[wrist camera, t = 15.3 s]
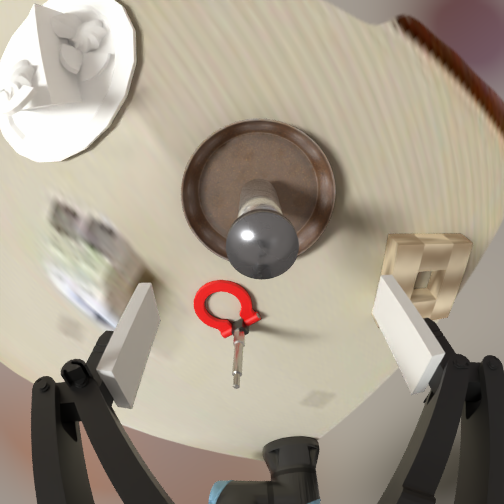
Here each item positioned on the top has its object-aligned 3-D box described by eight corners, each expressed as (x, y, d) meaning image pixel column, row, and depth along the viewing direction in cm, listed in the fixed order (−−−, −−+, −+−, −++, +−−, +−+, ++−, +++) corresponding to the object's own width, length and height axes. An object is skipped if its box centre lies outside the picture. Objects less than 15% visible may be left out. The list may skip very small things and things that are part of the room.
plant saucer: (176, 127, 32) (170, 128, 29) (327, 115, 31) (335, 116, 28) (197, 259, 40) (193, 271, 37) (328, 249, 39) (333, 260, 37)
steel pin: (281, 217, 34) (297, 278, 22) (235, 218, 34) (228, 279, 22) (282, 173, 31) (300, 213, 20) (234, 173, 31) (223, 214, 20)
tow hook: (183, 296, 43) (222, 336, 46) (161, 357, 31) (213, 400, 34) (228, 267, 41) (266, 312, 44) (218, 328, 29) (269, 378, 32)
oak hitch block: (438, 305, 44) (447, 317, 41) (371, 313, 44) (378, 327, 41) (460, 233, 38) (472, 243, 35) (388, 233, 38) (399, 245, 35)
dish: (131, 158, 33) (87, 182, 23) (-1, 163, 31) (-49, 185, 21) (153, -22, 22) (120, -59, 12) (10, 18, 20) (-38, 12, 10)
